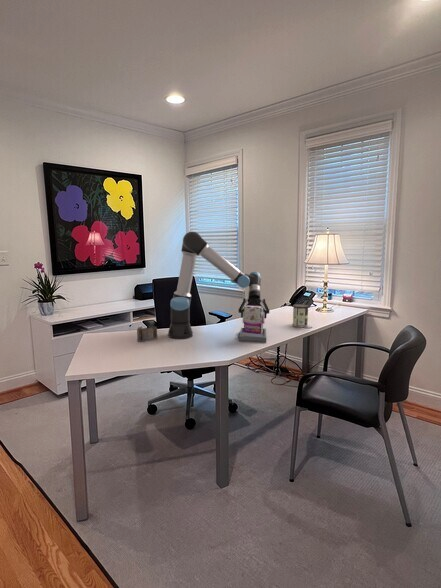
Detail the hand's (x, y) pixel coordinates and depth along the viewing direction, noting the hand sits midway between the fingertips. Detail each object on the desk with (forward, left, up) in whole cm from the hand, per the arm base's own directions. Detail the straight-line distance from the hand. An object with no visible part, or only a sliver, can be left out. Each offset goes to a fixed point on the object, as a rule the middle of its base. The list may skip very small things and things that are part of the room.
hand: (253, 322), depth 213 cm
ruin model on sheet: (-62, -13, -11) cm, 64 cm away
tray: (0, +3, -10) cm, 10 cm away
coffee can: (+32, +37, -10) cm, 50 cm away
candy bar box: (0, +2, -7) cm, 7 cm away
